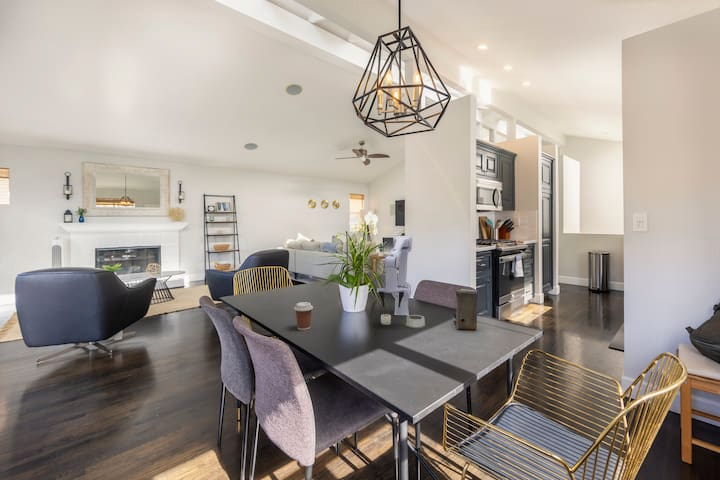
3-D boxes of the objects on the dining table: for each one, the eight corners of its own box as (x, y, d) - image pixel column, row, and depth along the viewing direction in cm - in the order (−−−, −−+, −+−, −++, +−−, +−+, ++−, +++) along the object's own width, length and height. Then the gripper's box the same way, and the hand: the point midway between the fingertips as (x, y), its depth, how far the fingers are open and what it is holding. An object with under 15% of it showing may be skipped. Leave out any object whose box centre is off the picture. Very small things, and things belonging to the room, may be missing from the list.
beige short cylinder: (381, 321, 173) (381, 313, 173) (390, 321, 172) (390, 314, 172) (380, 324, 168) (380, 316, 168) (390, 325, 167) (390, 316, 167)
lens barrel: (405, 322, 172) (405, 314, 172) (424, 322, 170) (424, 314, 170) (405, 328, 162) (405, 320, 162) (426, 329, 161) (426, 320, 160)
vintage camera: (470, 322, 173) (470, 284, 173) (477, 330, 158) (477, 289, 157) (451, 321, 174) (451, 284, 174) (457, 330, 159) (456, 289, 158)
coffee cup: (308, 323, 169) (308, 300, 169) (316, 328, 162) (315, 304, 161) (291, 326, 165) (291, 303, 164) (298, 332, 157) (298, 307, 156)
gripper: (376, 281, 162) (376, 308, 162) (406, 282, 160) (406, 309, 161) (377, 278, 169) (377, 304, 169) (405, 279, 167) (405, 305, 168)
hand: (391, 306), depth 166 cm, fingers open, 7 cm apart
